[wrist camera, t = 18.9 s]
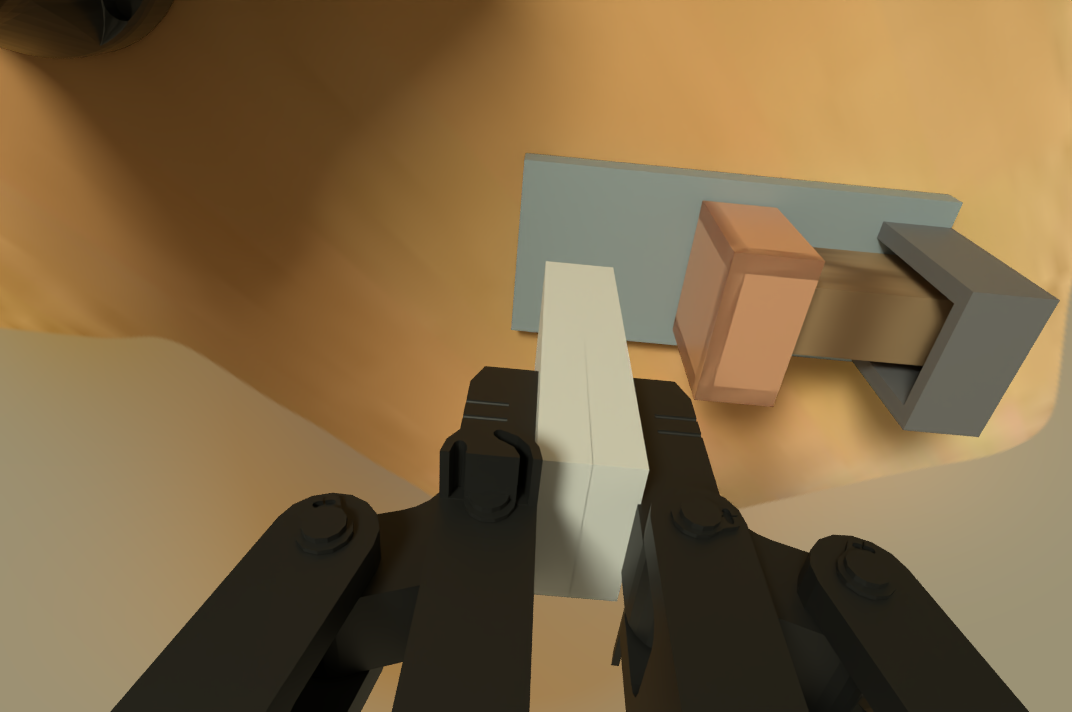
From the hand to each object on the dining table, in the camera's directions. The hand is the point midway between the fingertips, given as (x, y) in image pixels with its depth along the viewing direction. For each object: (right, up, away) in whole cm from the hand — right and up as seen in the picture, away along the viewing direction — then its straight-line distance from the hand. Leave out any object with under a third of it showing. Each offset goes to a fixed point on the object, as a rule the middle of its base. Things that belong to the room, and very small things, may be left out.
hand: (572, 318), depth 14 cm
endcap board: (+11, +5, +25) cm, 28 cm away
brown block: (+16, +4, +24) cm, 29 cm away
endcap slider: (+10, +4, +24) cm, 26 cm away
